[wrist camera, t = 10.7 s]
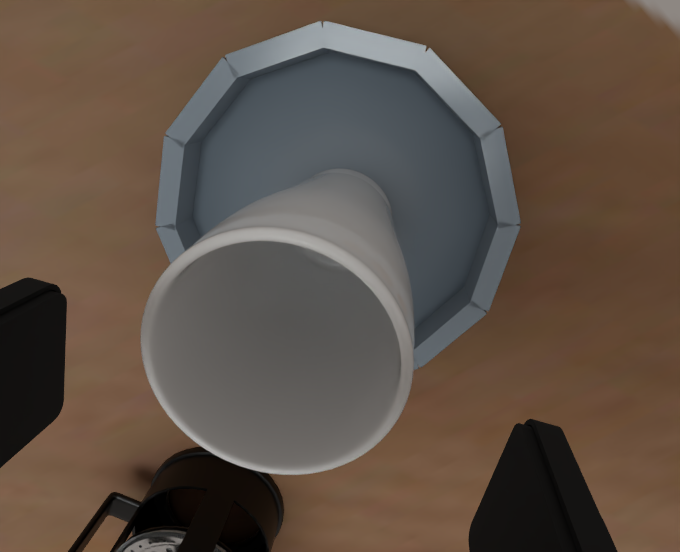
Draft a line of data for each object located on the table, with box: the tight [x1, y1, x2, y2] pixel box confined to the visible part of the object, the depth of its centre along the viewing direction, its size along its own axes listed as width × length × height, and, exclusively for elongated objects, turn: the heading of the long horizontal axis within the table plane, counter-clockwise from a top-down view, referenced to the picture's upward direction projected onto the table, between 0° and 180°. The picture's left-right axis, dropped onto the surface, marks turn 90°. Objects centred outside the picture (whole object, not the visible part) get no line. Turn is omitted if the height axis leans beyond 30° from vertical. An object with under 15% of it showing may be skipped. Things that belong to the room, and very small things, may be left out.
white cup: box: [141, 168, 415, 475], centre depth 19 cm, size 7×7×15 cm
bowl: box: [155, 21, 521, 370], centre depth 25 cm, size 17×17×3 cm
